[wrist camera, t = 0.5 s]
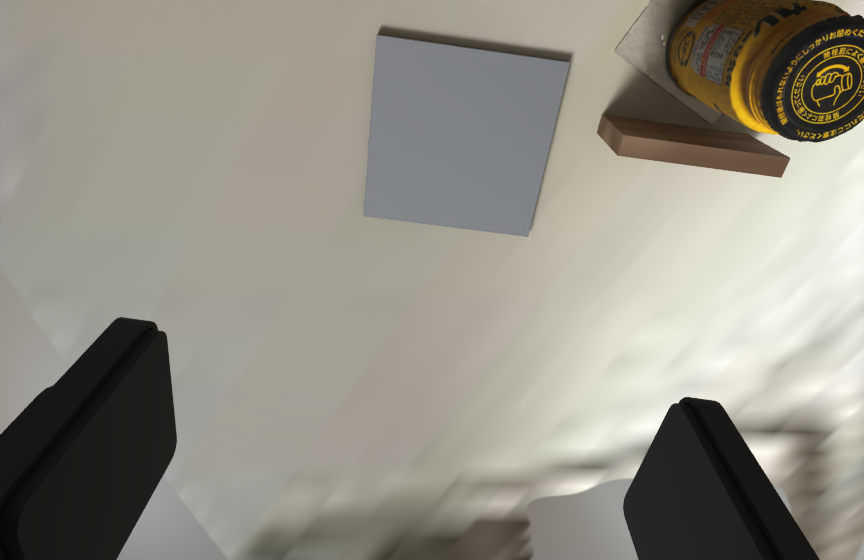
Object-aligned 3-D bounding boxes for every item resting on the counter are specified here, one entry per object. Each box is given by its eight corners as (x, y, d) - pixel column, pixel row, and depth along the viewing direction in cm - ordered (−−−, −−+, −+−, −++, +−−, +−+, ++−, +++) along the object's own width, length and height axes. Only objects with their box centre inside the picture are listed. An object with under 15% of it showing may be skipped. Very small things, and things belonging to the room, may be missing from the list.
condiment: (711, 124, 36) (818, 189, 26) (613, 50, 34) (687, 89, 24) (802, 21, 33) (966, 47, 23) (700, -67, 31) (829, -83, 20)
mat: (377, 34, 34) (376, 35, 33) (568, 61, 34) (569, 62, 34) (364, 213, 40) (363, 215, 39) (527, 234, 40) (528, 236, 40)
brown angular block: (664, -107, 30) (701, -119, 26) (839, -79, 30) (904, -86, 26) (596, 132, 36) (617, 155, 32) (741, 152, 37) (781, 177, 33)
